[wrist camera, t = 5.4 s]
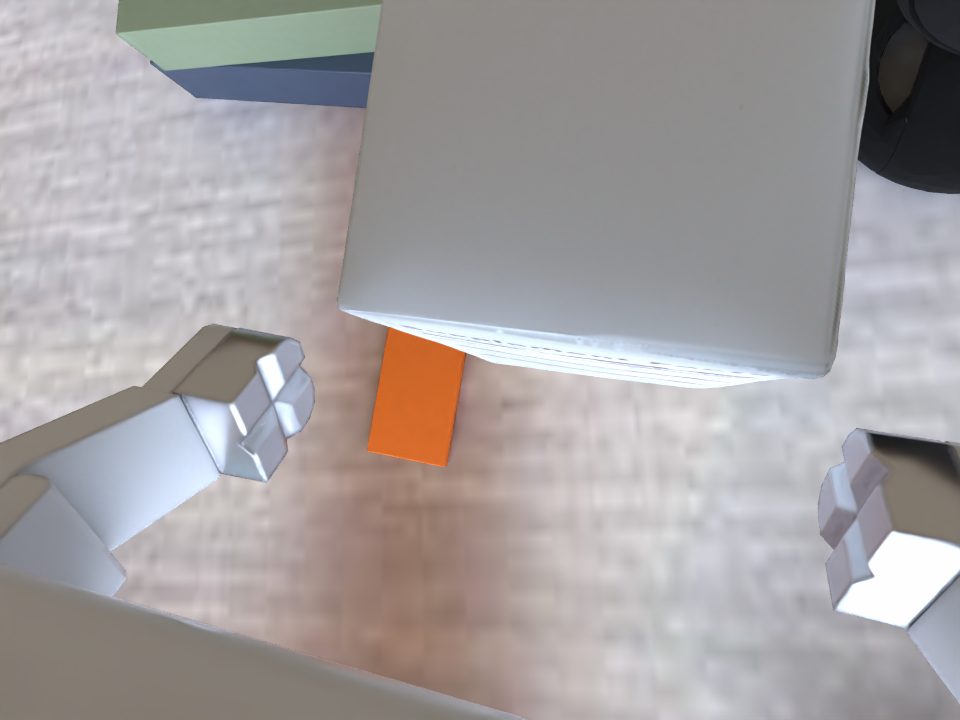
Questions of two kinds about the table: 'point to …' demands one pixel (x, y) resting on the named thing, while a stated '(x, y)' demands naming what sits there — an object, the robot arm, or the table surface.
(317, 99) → the book stack
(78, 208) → the table surface
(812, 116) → the white packaging box
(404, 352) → the orange rectangular block
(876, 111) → the webcam
